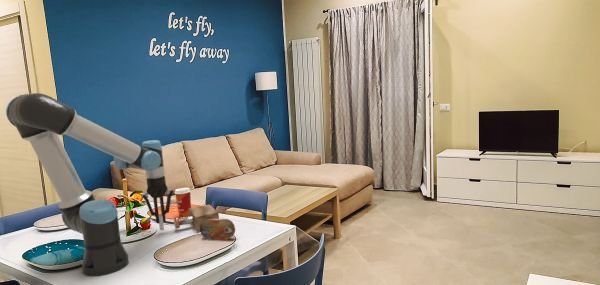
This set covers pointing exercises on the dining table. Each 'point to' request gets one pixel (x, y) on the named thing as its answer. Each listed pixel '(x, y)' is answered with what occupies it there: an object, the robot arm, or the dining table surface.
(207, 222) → the mottled brown rounded block
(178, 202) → the paper cup
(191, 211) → the hitch block
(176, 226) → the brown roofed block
